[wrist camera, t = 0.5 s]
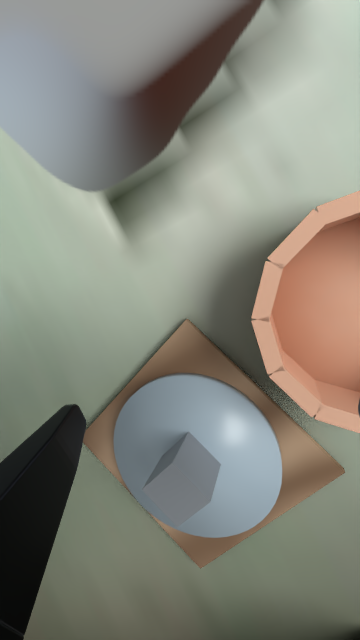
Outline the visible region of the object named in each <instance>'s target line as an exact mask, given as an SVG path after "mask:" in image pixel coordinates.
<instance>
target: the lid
mask: <svg viewBox="0 0 360 640" xmlns="http://www.w3.org/2000/svg"><path fill="white" fill-rule="evenodd" d="M114 453H115V459H116V462H117V466H118V469H119V472H120V474H121V476H122V479H123V480H124V482H125V484H126V486H127V488H128V489H129V490H130V492H131V493H132V495H133V496H134V497H135V499H136V500H137V501H138V502H139V503H140V504H141V505H142V506H143V507H144V508H145V509H146V510H147V511H148V512H149V513H150V514H152V515H153V516H154V517H155V518H157V519H158V520H160V521H162V522H163V523H165V524H166V525H168V526H170V527H172V528H174V529H176V530H179V531H182V532H184V533H187V534H191V535H195V536H201V537H210V538H219V537H228V536H233V535H237V534H240V533H242V532H245V531H247V530H249V529H251V528H252V527H254V526H256V525H257V524H258V523H260V522H261V521H262V520H263V519H264V518H265V517H266V516H267V515H268V514H269V512H270V511H271V509H272V508H273V506H274V505H275V503H276V500H277V498H278V495H279V492H280V488H281V483H282V459H281V451H280V447H279V442H278V440H277V437H276V434H275V432H274V430H273V428H272V426H271V424H270V422H269V420H268V419H267V418H266V416H265V415H264V413H263V412H262V411H261V410H260V408H259V407H258V406H257V405H256V404H255V403H254V402H253V401H252V400H251V399H250V398H249V397H247V396H246V395H245V394H244V393H242V392H241V391H240V390H238V389H237V388H235V387H234V386H232V385H230V384H228V383H226V382H224V381H222V380H219V379H216V378H214V377H211V376H207V375H202V374H196V373H175V374H168V375H165V376H162V377H158V378H156V379H154V380H152V381H150V382H148V383H147V384H145V385H144V386H142V387H141V388H140V389H139V390H138V391H137V392H136V393H135V394H133V395H132V396H131V397H130V398H129V400H128V401H127V402H126V403H125V405H124V406H123V408H122V410H121V411H120V413H119V416H118V419H117V421H116V425H115V430H114Z"/></svg>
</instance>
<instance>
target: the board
mask: <svg viewBox="0 0 360 640" xmlns="http://www.w3.org/2000/svg"><path fill="white" fill-rule="evenodd" d="M175 373H196V374H202V375H207V376H211V377H214V378H216V379H219V380H222V381H224V382H226V383H228V384H230V385H232V386H234V387H235V388H237V389H238V390H240V391H241V392H242V393H244V394H245V395H246V396H247V397H249V398H250V399H251V400H252V401H253V402H254V403H255V404H256V405H257V406H258V407H259V408H260V410H261V411H262V412H263V413H264V415H265V416H266V418H267V419H268V420H269V422H270V424H271V426H272V428H273V430H274V432H275V434H276V437H277V440H278V442H279V447H280V451H281V459H282V483H281V488H280V492H279V495H278V498H277V500H276V503H275V505H274V506H273V508H272V509H271V511H270V512H269V514H268V515H267V516H266V517H265V518H264V519H263V520H262V521H261V522H260V523H258V524H257V525H256V526H254V527H252V528H251V529H249V530H247V531H245V532H242V533H240V534H237V535H233V536H228V537H219V538H210V537H201V536H195V535H191V534H187V533H184V532H182V531H179V530H176V529H174V528H172V527H170V526H168V525H166V524H165V523H163V522H162V521H160V520H158V519H157V518H155V517H154V516H153V515H152V514H150V513H149V512H148V511H147V510H146V511H147V512H148V513H149V514H150V515H151V516H152V517H153V518H154V519H155V520H156V521H157V522H158V523H159V525H160V526H161V527H162V528H163V529H164V530H165V531H166V532H167V533H168V534H169V535H170V536H171V537H172V538H173V540H174V541H175V542H176V543H177V544H178V545H179V546H180V547H181V548H182V549H183V550H184V551H185V552H186V554H187V555H188V556H189V557H190V558H191V559H192V560H193V561H194V562H195V563H196V564H197V565H198V566H199V568H200V569H201V568H202V567H204V566H205V565H207V564H208V563H210V562H211V561H213V560H214V559H216V558H217V557H219V556H220V555H222V554H223V553H225V552H226V551H228V550H229V549H231V548H232V547H234V546H235V545H237V544H238V543H240V542H241V541H243V540H244V539H246V538H247V537H249V536H250V535H252V534H253V533H255V532H256V531H258V530H259V529H261V528H262V527H264V526H265V525H267V524H268V523H270V522H271V521H273V520H274V519H276V518H277V517H279V516H280V515H282V514H283V513H285V512H286V511H288V510H289V509H291V508H292V507H294V506H295V505H297V504H298V503H300V502H301V501H303V500H304V499H306V498H307V497H309V496H310V495H312V494H313V493H315V492H316V491H318V490H319V489H321V488H322V487H324V486H325V485H327V484H328V483H330V482H331V481H333V480H334V479H336V478H337V477H339V476H340V475H342V474H343V473H345V471H344V468H343V467H342V466H341V465H340V464H339V463H338V462H337V461H336V460H335V459H334V458H333V457H332V456H330V455H329V454H328V453H327V452H326V451H325V450H324V449H323V448H322V447H321V446H320V445H319V444H318V443H317V442H316V441H315V440H314V439H313V438H312V437H311V436H310V435H309V434H308V433H306V432H305V431H304V430H303V429H302V428H301V427H300V426H299V425H298V424H297V423H296V422H295V421H294V420H293V419H292V418H291V417H290V416H289V415H288V414H287V413H286V412H285V411H284V410H282V409H281V408H280V407H279V406H278V405H277V404H276V403H275V402H274V401H273V400H272V399H271V398H270V397H269V396H268V395H267V394H266V393H265V392H264V391H263V390H262V389H261V388H260V387H259V386H257V385H256V384H255V383H254V382H253V381H252V380H251V379H250V378H249V377H248V376H247V375H246V374H245V373H244V372H243V371H242V370H241V369H240V368H239V367H238V366H237V365H236V364H235V363H233V362H232V361H231V360H230V359H229V358H228V357H227V356H226V355H225V354H224V353H223V352H222V351H221V350H220V349H219V348H218V347H217V346H216V345H215V344H214V343H213V342H212V341H211V340H210V339H208V338H207V337H206V336H205V335H204V334H203V333H202V332H201V331H200V330H199V329H198V328H197V327H196V326H195V325H194V324H193V323H192V322H191V321H190V320H189V319H186V320H185V321H184V322H183V323H182V325H181V326H180V327H179V328H178V329H177V330H176V331H175V332H174V333H173V335H172V336H171V337H170V338H169V339H168V340H167V341H166V342H165V343H164V344H163V346H162V347H161V348H160V349H159V350H158V351H157V352H156V353H155V354H154V356H153V357H152V358H151V359H150V360H149V361H148V362H147V363H146V364H145V366H144V367H143V368H142V369H141V370H140V371H139V372H138V373H137V374H136V375H135V377H134V378H133V379H132V380H131V381H130V382H129V383H128V384H127V385H126V387H125V388H124V389H123V390H122V391H121V392H120V393H119V394H118V395H117V396H116V398H115V399H114V400H113V401H112V402H111V403H110V404H109V405H108V406H107V408H106V409H105V410H104V411H103V412H102V413H101V414H100V415H99V416H98V418H97V419H96V420H95V421H94V422H93V423H92V424H91V425H90V426H89V427H88V429H87V430H86V431H85V434H84V439H83V443H84V444H85V445H86V446H87V447H88V448H89V449H90V450H91V451H92V452H93V454H94V455H95V456H96V457H97V458H98V459H99V460H100V461H101V462H102V463H103V464H104V465H105V466H106V468H107V469H108V470H109V471H110V472H111V473H112V474H113V475H114V476H115V477H116V478H117V479H118V480H119V481H120V483H121V484H122V485H123V486H124V487H125V488H126V489H127V490H128V491H129V492H130V490H129V489H128V488H127V486H126V484H125V482H124V480H123V479H122V476H121V474H120V472H119V469H118V466H117V462H116V459H115V453H114V430H115V425H116V421H117V419H118V416H119V413H120V411H121V410H122V408H123V406H124V405H125V403H126V402H127V401H128V400H129V398H130V397H131V396H132V395H133V394H135V393H136V392H137V391H138V390H139V389H140V388H141V387H142V386H144V385H145V384H147V383H148V382H150V381H152V380H154V379H156V378H158V377H162V376H165V375H168V374H175ZM130 493H131V492H130ZM131 494H132V493H131ZM133 497H134V496H133ZM134 498H135V497H134Z"/></svg>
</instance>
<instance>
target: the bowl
mask: <svg viewBox="0 0 360 640" xmlns="http://www.w3.org/2000/svg"><path fill="white" fill-rule="evenodd" d="M268 259H269V260H270V261H271V262H268V261H265V265H264V269H263V273H262V277H261V281H260V285H259V289H258V293H257V297H256V301H255V305H254V309H253V313H252V317H251V318H252V320H251V322H252V325H253V328H254V332H255V335H256V338H257V342H258V345H259V348H260V351H261V355H262V358H263V361H264V365H265V368H266V371H267V374H269V377H270V378H271V379H272V380H273V381H274V382H275V383H276V384H277V385H278V386H279V387H280V388H281V389H282V390H283V391H284V392H286V393H287V394H288V395H289V396H290V397H291V398H292V399H293V400H294V401H295V402H296V403H297V404H298V405H299V406H300V407H301V408H302V409H303V410H304V411H306V412H307V413H308V414H309V415H310V416H311V417H313V416H314V418H315V419H316V420H319V421H322V422H325V423H329V424H332V425H335V426H338V427H341V428H345V429H348V430H351V431H354V432H357V433H360V417H359V413H358V404H359V399H360V191H358V192H355V193H352V194H349V195H347V196H344V197H341V198H339V199H336V200H333V201H331V202H328V203H325V204H323V205H320V206H317V207H316V209H315V210H314V209H313V210H312V211H311V212H310V213H309V214H308V215H307V216H306V217H305V218H304V219H303V221H302V222H301V223H300V224H299V225H298V226H297V227H296V228H295V229H294V230H293V231H292V232H291V233H290V234H289V235H288V237H287V238H286V239H285V240H284V241H283V242H282V243H281V244H280V245H279V246H278V247H277V248H276V249H275V250H274V251H273V252H272V254H271V255H270V256H269V257H268Z"/></svg>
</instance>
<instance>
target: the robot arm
mask: <svg viewBox="0 0 360 640" xmlns="http://www.w3.org/2000/svg"><path fill="white" fill-rule="evenodd" d="M358 413H359V417H360V399H359V404H358ZM85 429H86V419H85V417H84V415H83V413H82V412H81V410H80V408H79V406H78V405H76V404H70V405H65V406H63V407H62V408H61V409H60V410H59V411H58V412H56V413H55V414H54V415H53V416H52V417H51V418H50V419H49V420H48V421H46V422H45V423H44V424H43V425H42V426H41V427H40V428H39V429H38V430H36V431H35V432H34V433H33V434H32V435H31V436H30V437H29V438H27V439H26V440H25V441H24V442H23V443H22V444H21V445H20V446H19V447H17V448H16V449H15V450H14V451H13V452H12V453H11V454H10V455H9V456H7V457H6V458H5V459H4V460H3V461H2V462H1V463H0V640H23V639H24V634H25V632H26V628H27V625H28V622H29V619H30V616H31V613H32V610H33V606H34V603H35V600H36V597H37V594H38V591H39V588H40V584H41V581H42V578H43V575H44V572H45V569H46V566H47V562H48V559H49V556H50V553H51V550H52V547H53V543H54V540H55V537H56V534H57V531H58V528H59V525H60V521H61V518H62V515H63V512H64V509H65V506H66V503H67V499H68V496H69V493H70V490H71V487H72V484H73V480H74V477H75V474H76V471H77V467H78V462H79V458H80V453H81V448H82V443H83V439H84V434H85Z"/></svg>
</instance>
